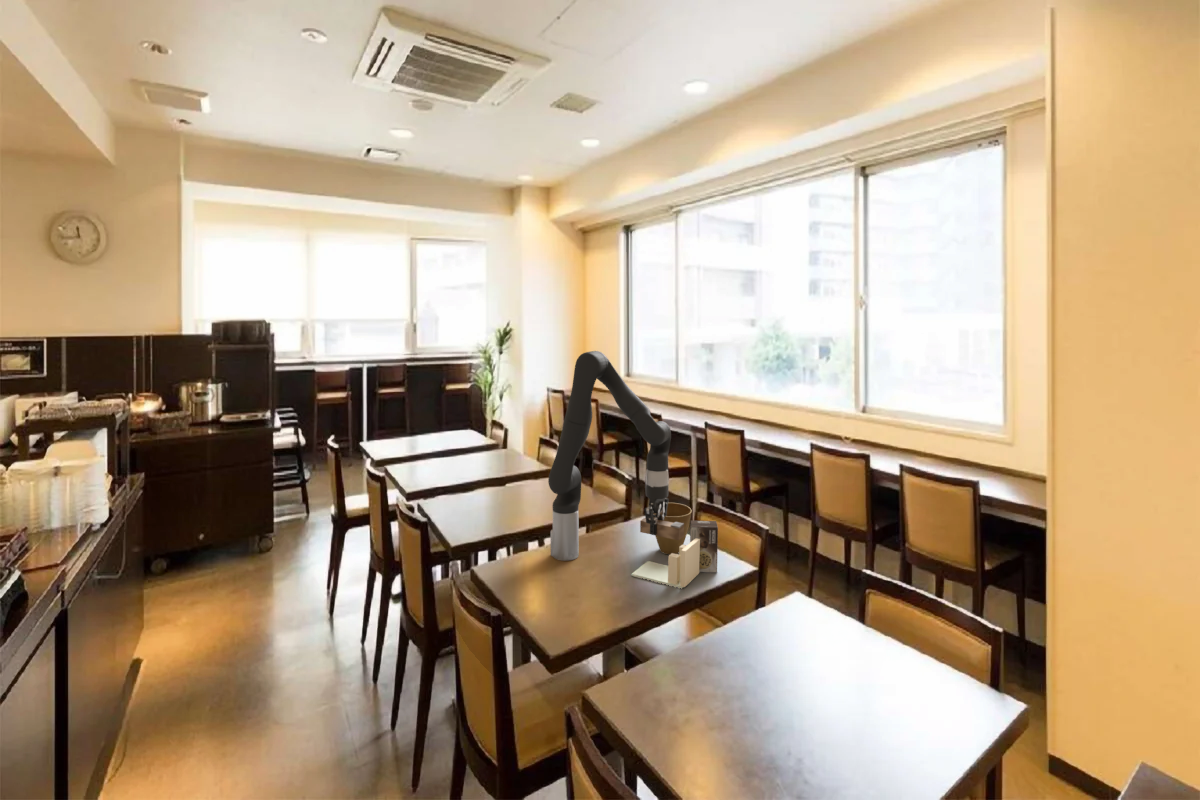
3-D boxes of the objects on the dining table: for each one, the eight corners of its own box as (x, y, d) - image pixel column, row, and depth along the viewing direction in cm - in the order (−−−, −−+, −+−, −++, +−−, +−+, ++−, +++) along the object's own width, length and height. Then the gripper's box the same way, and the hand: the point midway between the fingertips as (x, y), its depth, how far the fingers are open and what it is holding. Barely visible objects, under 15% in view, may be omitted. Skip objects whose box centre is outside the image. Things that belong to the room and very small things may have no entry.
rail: (640, 532, 200) (640, 519, 199) (645, 528, 203) (645, 515, 202) (678, 540, 192) (679, 527, 192) (683, 536, 196) (684, 523, 195)
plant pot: (644, 545, 225) (645, 504, 223) (681, 541, 229) (682, 501, 226) (657, 560, 211) (658, 517, 208) (697, 557, 214) (698, 514, 212)
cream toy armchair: (631, 575, 199) (632, 539, 197) (648, 563, 209) (648, 528, 207) (684, 589, 189) (685, 551, 187) (698, 575, 199) (700, 538, 197)
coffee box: (715, 565, 207) (717, 520, 205) (717, 573, 201) (718, 527, 199) (689, 564, 208) (690, 519, 206) (689, 572, 202) (691, 526, 200)
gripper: (656, 475, 204) (655, 524, 207) (636, 486, 192) (636, 537, 195) (676, 478, 200) (675, 528, 203) (657, 489, 188) (657, 541, 191)
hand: (656, 532), depth 199 cm, fingers closed on rail, 4 cm apart
